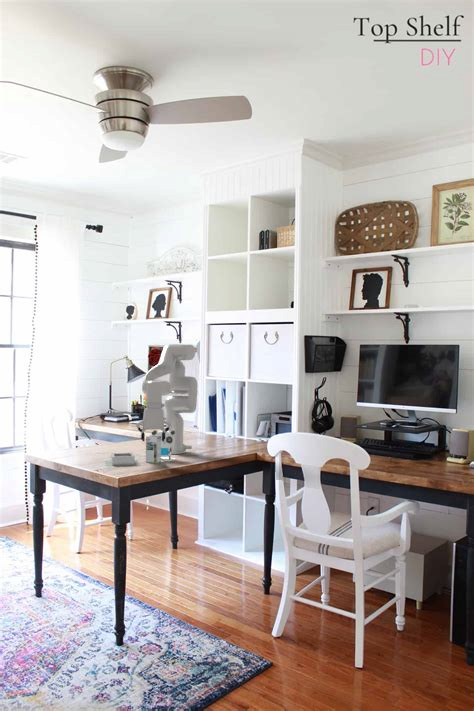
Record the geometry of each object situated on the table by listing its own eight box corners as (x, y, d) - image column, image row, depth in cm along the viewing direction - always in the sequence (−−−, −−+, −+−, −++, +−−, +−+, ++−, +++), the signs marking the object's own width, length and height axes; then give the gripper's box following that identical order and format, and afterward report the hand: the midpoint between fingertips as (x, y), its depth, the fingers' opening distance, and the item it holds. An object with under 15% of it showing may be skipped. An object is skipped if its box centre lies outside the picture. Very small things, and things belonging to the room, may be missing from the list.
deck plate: (137, 463, 301) (137, 460, 301) (140, 468, 287) (140, 465, 287) (105, 464, 297) (105, 461, 297) (106, 469, 283) (106, 466, 283)
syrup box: (145, 465, 295) (145, 435, 295) (151, 463, 301) (151, 434, 301) (155, 466, 293) (155, 436, 293) (161, 464, 299) (161, 435, 298)
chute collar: (132, 460, 298) (132, 452, 298) (134, 464, 288) (134, 456, 288) (111, 461, 296) (111, 453, 296) (112, 465, 286) (112, 457, 286)
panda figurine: (149, 461, 307) (150, 431, 307) (153, 457, 318) (154, 428, 318) (173, 461, 306) (173, 432, 306) (176, 457, 318) (176, 429, 318)
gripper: (170, 405, 302) (169, 439, 302) (135, 405, 298) (134, 440, 298) (172, 406, 295) (171, 441, 295) (137, 406, 291) (136, 442, 290)
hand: (153, 441), depth 296 cm, fingers open, 9 cm apart
